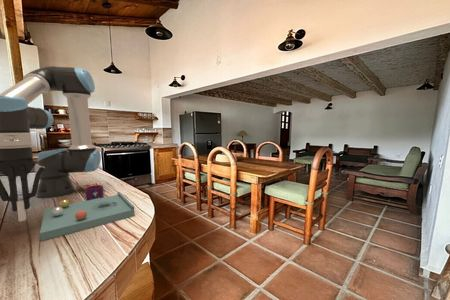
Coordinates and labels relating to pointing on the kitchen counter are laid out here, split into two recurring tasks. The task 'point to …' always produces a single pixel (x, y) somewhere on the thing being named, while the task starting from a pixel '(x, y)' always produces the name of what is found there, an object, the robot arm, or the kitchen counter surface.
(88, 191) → the mug
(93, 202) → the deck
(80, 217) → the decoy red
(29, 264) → the kitchen counter surface
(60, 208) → the steel ball
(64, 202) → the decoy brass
